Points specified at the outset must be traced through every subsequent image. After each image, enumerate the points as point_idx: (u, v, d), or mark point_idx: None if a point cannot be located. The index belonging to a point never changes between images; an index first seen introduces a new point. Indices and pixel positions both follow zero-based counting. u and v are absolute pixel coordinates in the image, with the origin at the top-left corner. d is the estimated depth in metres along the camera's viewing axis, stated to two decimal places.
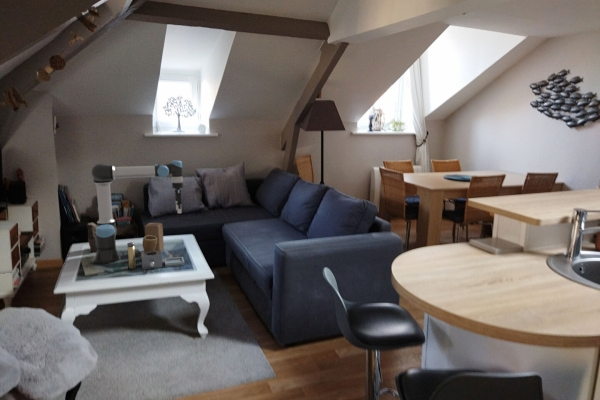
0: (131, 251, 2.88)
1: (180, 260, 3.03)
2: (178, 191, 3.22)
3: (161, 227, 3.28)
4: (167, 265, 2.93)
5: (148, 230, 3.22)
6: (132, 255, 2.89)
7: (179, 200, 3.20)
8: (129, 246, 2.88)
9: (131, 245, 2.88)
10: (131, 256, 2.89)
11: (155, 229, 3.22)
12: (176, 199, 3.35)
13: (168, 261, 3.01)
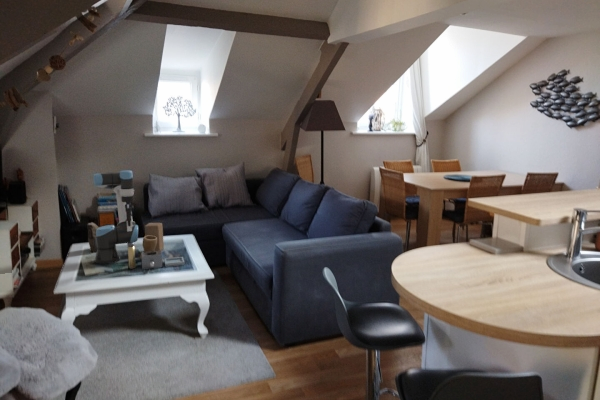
0: (131, 251, 2.88)
1: (180, 260, 3.03)
2: (127, 206, 2.79)
3: (161, 227, 3.28)
4: (167, 265, 2.93)
5: (148, 230, 3.22)
6: (132, 255, 2.89)
7: (128, 216, 2.77)
8: (129, 246, 2.88)
9: (131, 245, 2.88)
10: (131, 256, 2.89)
11: (155, 229, 3.22)
12: None
13: (168, 261, 3.01)
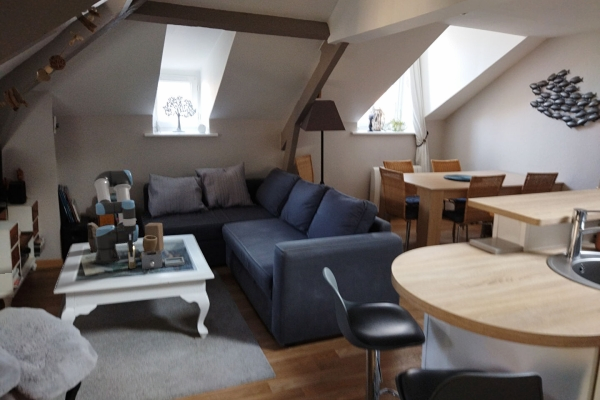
0: None
1: (180, 260, 3.03)
2: (129, 238, 2.83)
3: (161, 227, 3.28)
4: (167, 265, 2.93)
5: (148, 230, 3.22)
6: None
7: (131, 248, 2.84)
8: None
9: None
10: None
11: (155, 229, 3.22)
12: None
13: (168, 261, 3.01)
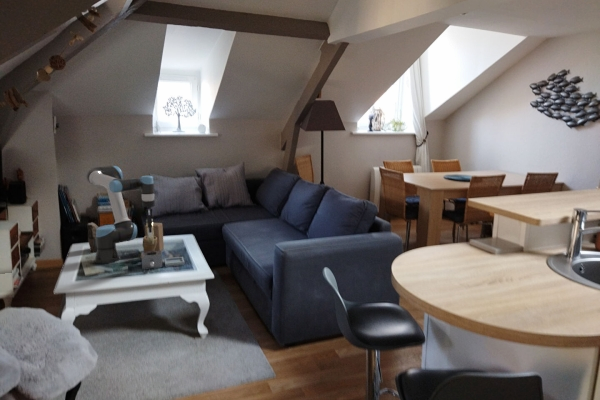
0: None
1: (180, 260, 3.03)
2: (149, 213, 2.84)
3: (161, 227, 3.28)
4: (167, 265, 2.93)
5: None
6: None
7: (150, 223, 2.86)
8: None
9: None
10: None
11: (155, 229, 3.22)
12: None
13: (168, 261, 3.01)
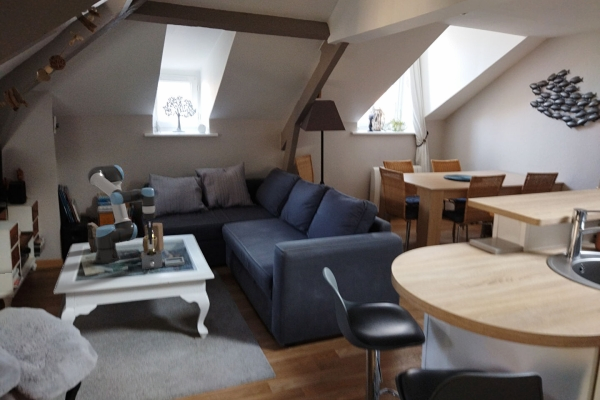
0: None
1: (180, 260, 3.03)
2: (149, 226, 2.85)
3: (161, 227, 3.28)
4: (167, 265, 2.93)
5: None
6: None
7: (150, 235, 2.87)
8: None
9: None
10: None
11: (155, 229, 3.22)
12: None
13: (168, 261, 3.01)
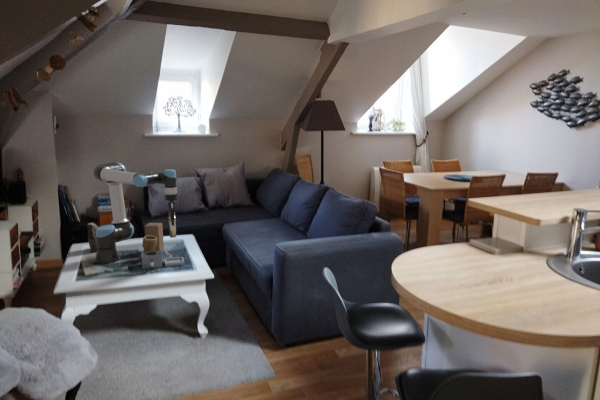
0: None
1: (180, 260, 3.03)
2: (172, 206, 2.88)
3: (161, 227, 3.28)
4: (167, 265, 2.93)
5: (148, 230, 3.22)
6: None
7: (172, 216, 2.90)
8: None
9: None
10: None
11: (155, 229, 3.22)
12: None
13: (168, 261, 3.01)
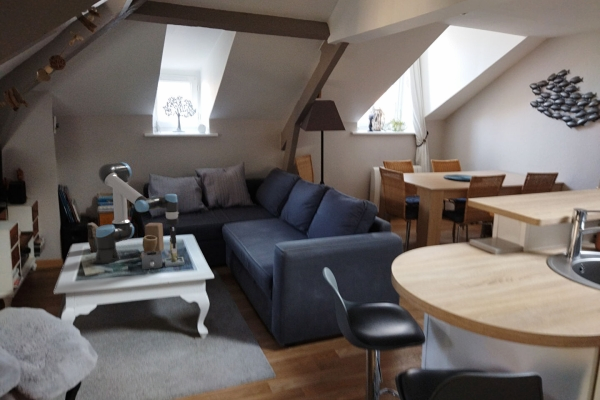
0: None
1: (180, 260, 3.03)
2: (173, 229, 2.90)
3: (161, 227, 3.28)
4: (167, 265, 2.93)
5: (148, 230, 3.22)
6: None
7: (174, 239, 2.89)
8: (171, 241, 2.96)
9: None
10: None
11: (155, 229, 3.22)
12: (171, 236, 3.03)
13: (168, 261, 3.01)
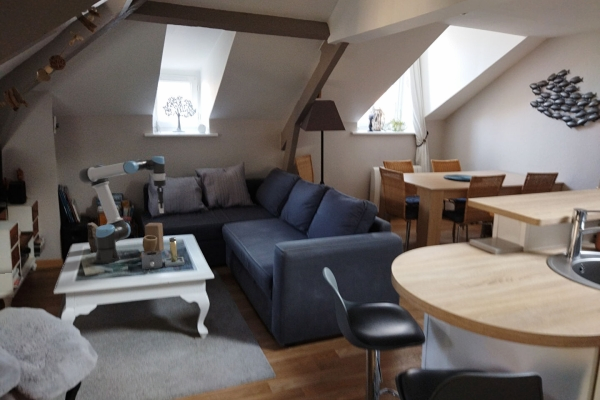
0: (173, 246, 2.97)
1: (180, 260, 3.03)
2: (160, 189, 2.97)
3: (161, 227, 3.28)
4: (167, 265, 2.93)
5: (148, 230, 3.22)
6: (174, 250, 2.97)
7: (161, 199, 2.96)
8: (171, 241, 2.96)
9: (173, 240, 2.96)
10: (173, 251, 2.97)
11: (155, 229, 3.22)
12: (159, 198, 3.11)
13: (168, 261, 3.01)
